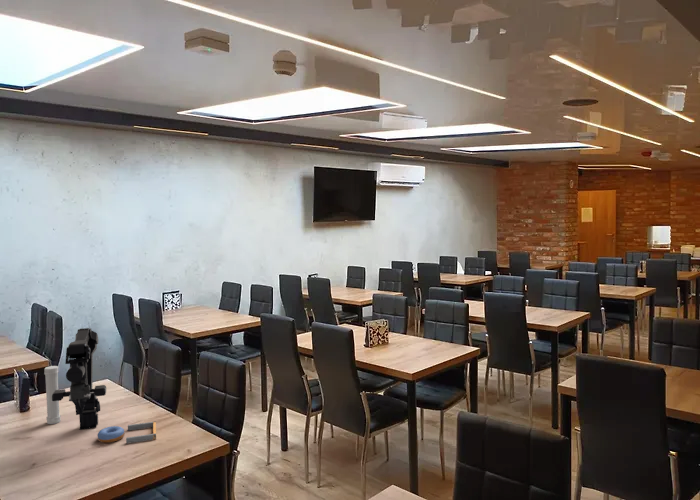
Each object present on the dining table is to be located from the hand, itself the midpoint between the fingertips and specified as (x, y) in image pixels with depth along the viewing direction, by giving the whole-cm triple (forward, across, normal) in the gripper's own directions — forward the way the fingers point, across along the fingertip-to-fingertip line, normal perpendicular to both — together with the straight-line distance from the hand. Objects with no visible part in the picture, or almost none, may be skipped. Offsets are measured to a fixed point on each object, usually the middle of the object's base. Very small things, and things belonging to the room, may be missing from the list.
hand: (80, 414), depth 214 cm
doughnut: (+12, +11, 0) cm, 16 cm away
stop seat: (+11, +22, 0) cm, 25 cm away
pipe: (+12, -14, +29) cm, 34 cm away
